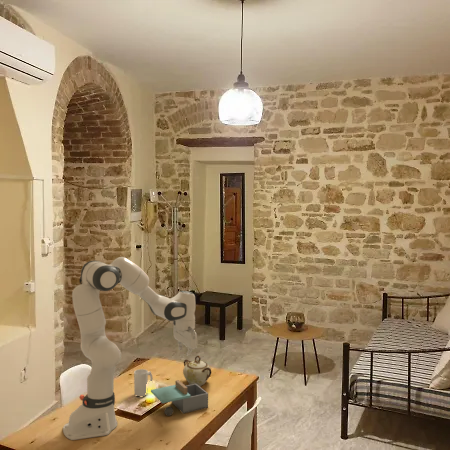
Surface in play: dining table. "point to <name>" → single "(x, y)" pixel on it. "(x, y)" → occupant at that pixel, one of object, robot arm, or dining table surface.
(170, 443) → the dining table surface
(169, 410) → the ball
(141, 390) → the mug
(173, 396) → the lid
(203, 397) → the bin
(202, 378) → the sugar bowl
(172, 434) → the dining table surface
